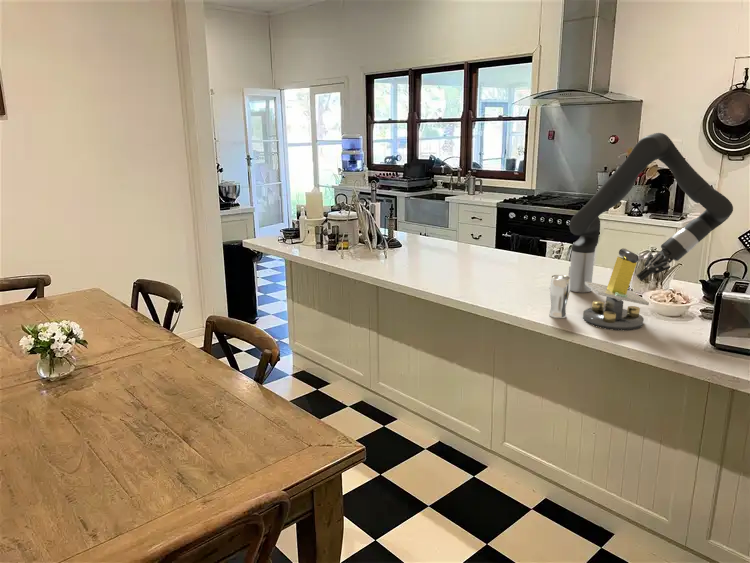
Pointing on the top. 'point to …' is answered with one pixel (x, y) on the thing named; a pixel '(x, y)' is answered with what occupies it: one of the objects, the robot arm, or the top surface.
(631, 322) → the disc with brass knobs
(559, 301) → the beer glass
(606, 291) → the yellow block with roller
